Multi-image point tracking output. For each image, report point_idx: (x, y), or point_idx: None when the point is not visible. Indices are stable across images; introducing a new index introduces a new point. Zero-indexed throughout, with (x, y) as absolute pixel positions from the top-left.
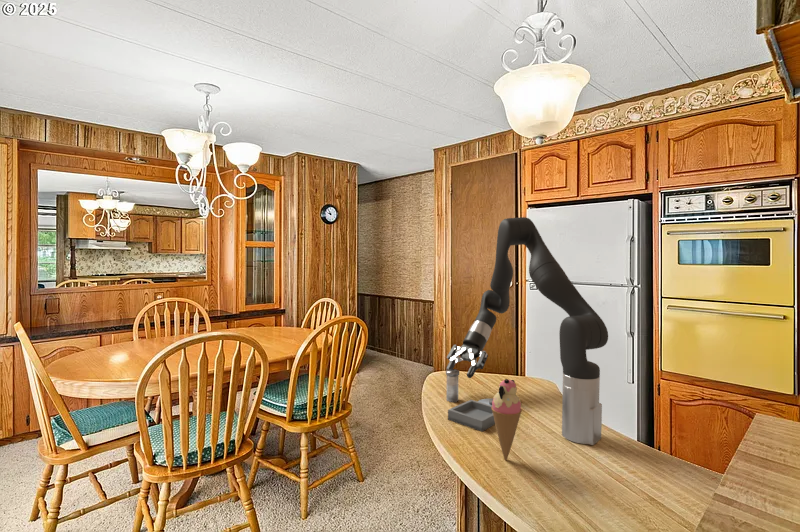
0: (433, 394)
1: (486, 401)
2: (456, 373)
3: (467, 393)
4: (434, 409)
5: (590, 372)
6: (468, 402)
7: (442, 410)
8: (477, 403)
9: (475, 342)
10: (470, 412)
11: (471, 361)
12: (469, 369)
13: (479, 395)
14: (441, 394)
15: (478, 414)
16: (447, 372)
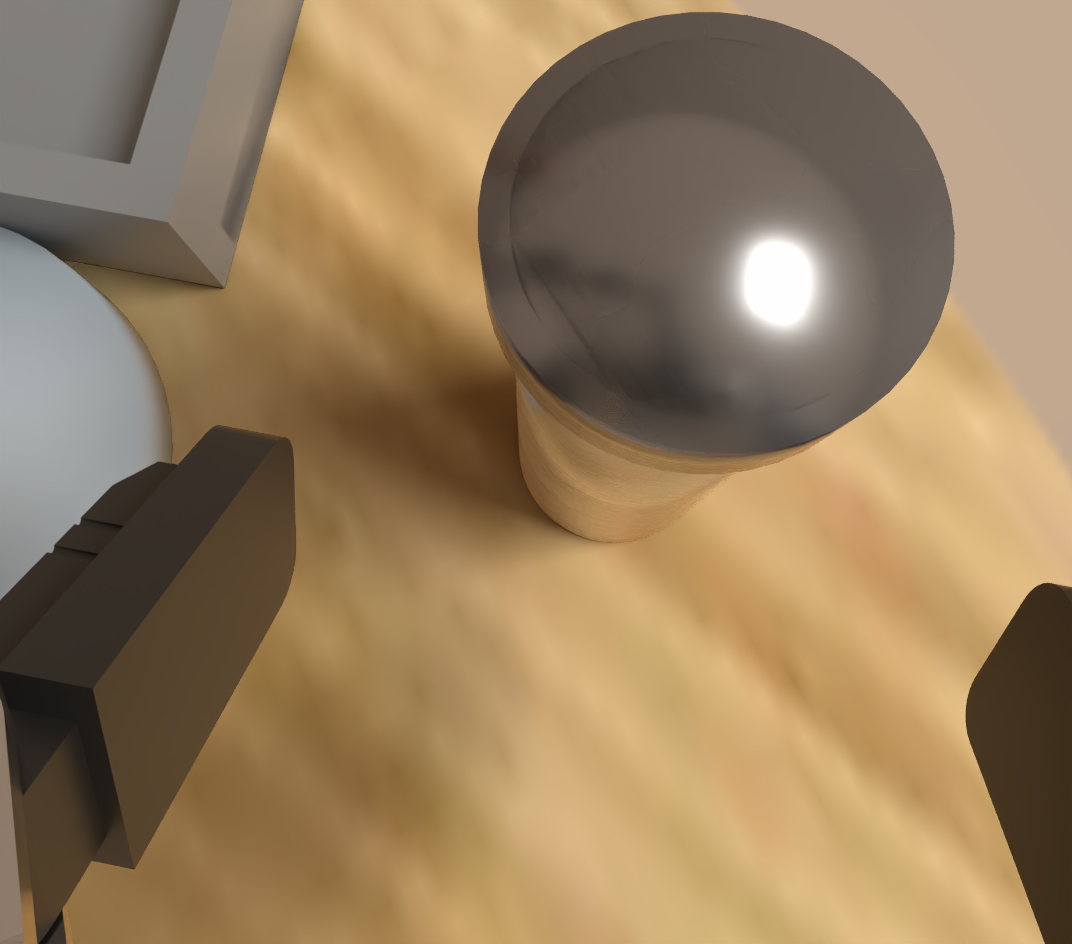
0: (999, 515)
1: (8, 499)
2: (505, 126)
3: (548, 908)
4: (647, 15)
5: None
6: (157, 82)
7: (541, 40)
8: (26, 149)
9: None
10: (125, 44)
11: (3, 921)
12: (171, 552)
13: (319, 935)
14: (895, 590)
15: (2, 38)
16: (782, 27)
